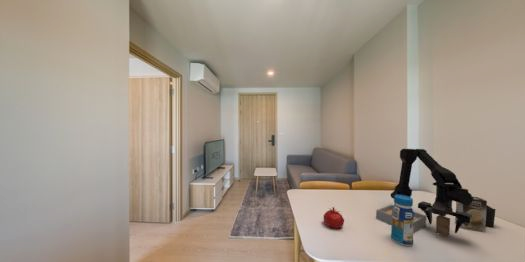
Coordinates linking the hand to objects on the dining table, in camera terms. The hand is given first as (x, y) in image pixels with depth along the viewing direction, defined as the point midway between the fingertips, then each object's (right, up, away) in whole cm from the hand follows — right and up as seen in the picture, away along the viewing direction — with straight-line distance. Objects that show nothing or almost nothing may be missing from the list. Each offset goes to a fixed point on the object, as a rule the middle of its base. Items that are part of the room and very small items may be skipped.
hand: (442, 228), depth 92 cm
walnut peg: (0, -3, 0) cm, 3 cm away
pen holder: (+33, -4, +12) cm, 36 cm away
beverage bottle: (-26, -2, -8) cm, 27 cm away
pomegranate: (-52, -1, +4) cm, 52 cm away
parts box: (-13, -2, +11) cm, 17 cm away
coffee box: (+21, -4, +7) cm, 23 cm away
